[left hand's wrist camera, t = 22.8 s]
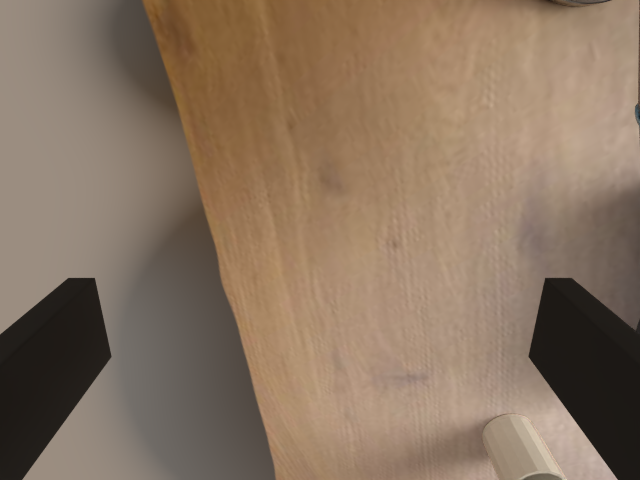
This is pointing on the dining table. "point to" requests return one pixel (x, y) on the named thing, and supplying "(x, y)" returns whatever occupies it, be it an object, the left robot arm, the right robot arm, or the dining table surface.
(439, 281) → the dining table surface
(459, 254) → the dining table surface
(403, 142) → the dining table surface
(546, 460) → the white cup
